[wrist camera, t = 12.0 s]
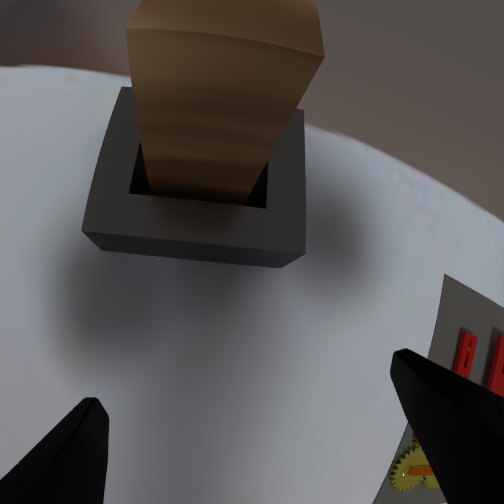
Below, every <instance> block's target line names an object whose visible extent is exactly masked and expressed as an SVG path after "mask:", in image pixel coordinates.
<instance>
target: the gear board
mask: <svg viewBox="0 0 504 504" xmlns="http://www.w3.org/2000/svg"><path fill="white" fill-rule="evenodd" d="M428 359H429V360H431V361H433V362H435V363H437V364H439V365H441V366H443V367H445V368H447V369H449V370H451V371H453V372H455V373H457V374H458V375H460V376H462V377H464V378H466V379H468V380H470V381H472V382H474V383H476V384H478V385H480V386H482V387H484V388H486V389H488V390H490V391H492V392H494V393H495V394H499V395H501V396H503V397H504V308H503V307H501V306H500V305H498V304H496V303H495V302H493V301H491V300H490V299H488V298H486V297H485V296H483V295H481V294H479V293H478V292H476V291H474V290H472V289H471V288H469V287H467V286H465V285H464V284H462V283H460V282H458V281H457V280H455V279H453V278H451V277H449V276H448V275H446V274H444V281H443V287H442V293H441V299H440V305H439V310H438V315H437V320H436V325H435V330H434V334H433V339H432V343H431V347H430V351H429V355H428ZM441 503H447V502H446V499H445V497H444V495H443V493H442V491H441V488H440V486H439V484H438V482H437V480H436V478H435V475H434V473H433V471H432V469H431V467H430V465H429V463H428V461H427V459H426V457H425V455H424V452H423V450H422V448H421V446H420V444H419V442H418V440H417V438H416V436H415V434H414V432H413V430H412V428H411V426H410V424H409V422H408V424H407V426H406V429H405V432H404V434H403V437H402V439H401V442H400V445H399V447H398V450H397V452H396V454H395V457H394V459H393V461H392V464H391V466H390V468H389V471H388V473H387V475H386V477H385V479H384V481H383V484H382V486H381V488H380V490H379V492H378V494H377V496H376V498H375V500H374V502H373V504H441Z"/></svg>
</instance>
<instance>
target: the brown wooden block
mask: <svg viewBox="0 0 504 504" xmlns="http://www.w3.org/2000/svg"><path fill="white" fill-rule="evenodd" d="M126 39H127V49H128V58H129V66H130V74H131V82H132V90H133V97H134V104H135V110H136V117H137V123H138V129H139V135H140V140H141V146H142V152H143V157H144V162H145V168H146V173H147V178H148V183H149V187H150V192H151V196H159V197H169V198H178V199H188V200H197V201H206V202H215V203H223V204H232V205H240V206H244V204H245V202H246V200H247V198H248V196H249V194H250V193H251V191H252V189H253V187H254V185H255V183H256V181H257V179H258V177H259V176H260V174H261V172H262V170H263V168H264V166H265V164H266V162H267V161H268V159H269V157H270V155H271V153H272V151H273V149H274V148H275V146H276V144H277V142H278V140H279V138H280V137H281V135H282V133H283V131H284V129H285V127H286V126H287V124H288V122H289V120H290V118H291V116H292V115H293V113H294V111H295V109H296V107H297V106H298V104H299V102H300V100H301V98H302V96H303V95H304V93H305V91H306V89H307V88H308V86H309V84H310V82H311V81H312V79H313V77H314V75H315V74H316V72H317V70H318V68H319V66H320V65H321V63H322V61H323V59H324V58H325V56H324V49H323V42H322V35H321V29H320V21H319V15H318V9H317V3H316V2H314V1H310V0H142V1H141V3H140V5H139V6H138V8H137V10H136V11H135V13H134V15H133V16H132V18H131V20H130V22H129V23H128V25H127V27H126Z"/></svg>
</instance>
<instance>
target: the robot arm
mask: <svg viewBox="0 0 504 504" xmlns="http://www.w3.org/2000/svg"><path fill="white" fill-rule="evenodd" d="M390 376H391V379H392V382H393V384H394V387H395V390H396V392H397V395H398V397H399V400H400V403H401V406H402V408H403V411H404V413H405V416H406V418H407V420H408V422H409V424H410V426H411V428H412V430H413V432H414V434H415V436H416V438H417V440H418V442H419V444H420V446H421V448H422V450H423V452H424V455H425V457H426V459H427V461H428V463H429V465H430V467H431V469H432V471H433V473H434V475H435V478H436V480H437V482H438V484H439V486H440V488H441V491H442V493H443V495H444V497H445V499H446V502H447V504H504V397H503V396H501V395H499V394H495V393H494V392H492V391H490V390H488V389H486V388H484V387H482V386H480V385H478V384H476V383H474V382H472V381H470V380H468V379H466V378H464V377H462V376H460V375H458V374H457V373H455V372H453V371H451V370H449V369H447V368H445V367H443V366H441V365H439V364H437V363H435V362H433V361H431V360H429V359H427V358H425V357H423V356H421V355H419V354H417V353H415V352H413V351H411V350H409V349H407V348H404V349H401V350H398V351H395V352H394V354H393V357H392V363H391V369H390ZM108 440H109V416H108V414H107V412H106V411H105V409H104V407H103V406H102V404H101V403H100V401H99V400H98V399H97V398H95V397H86V398H84V399H83V400H82V401H81V402H80V403H79V404H78V405H77V406H75V407H74V408H73V409H72V410H71V411H70V412H69V413H68V414H67V415H66V416H65V417H64V418H63V419H62V420H61V421H60V422H59V423H58V424H57V425H56V426H55V427H54V428H53V429H52V430H51V431H50V432H49V433H48V434H47V435H46V436H45V437H44V438H43V439H42V440H41V441H40V442H39V443H38V444H37V445H36V446H35V447H34V448H33V449H32V450H31V451H30V452H29V453H28V454H27V455H26V456H25V457H24V458H23V459H22V460H21V461H19V463H18V464H16V465H15V466H14V467H13V468H12V469H11V470H10V471H9V472H8V473H7V474H6V475H5V476H4V477H3V478H2V479H1V480H0V504H103V501H104V491H105V482H106V473H107V465H108Z"/></svg>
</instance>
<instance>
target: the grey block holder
mask: <svg viewBox="0 0 504 504" xmlns="http://www.w3.org/2000/svg"><path fill="white" fill-rule="evenodd" d="M146 177H147V173H146V168H145V162H144V157H143V152H142V146H141V140H140V135H139V129H138V123H137V117H136V110H135V104H134V97H133V90H132V87H121V90H120V93H119V95H118V98H117V101H116V104H115V106H114V109H113V112H112V115H111V118H110V121H109V124H108V127H107V130H106V134H105V137H104V140H103V143H102V147H101V150H100V154H99V157H98V161H97V164H96V168H95V172H94V176H93V180H92V184H91V188H90V192H89V196H88V201H87V205H86V210H85V215H84V220H83V225H82V230H81V231H82V232H83V233H84V234H85V235H86V236H87V237H88V238H89V239H90V240H91V241H92V242H93V243H94V244H95V245H96V246H97V247H98V248H99V249H101V250H104V251H113V252H122V253H132V254H141V255H151V256H160V257H170V258H180V259H189V260H199V261H210V262H220V263H230V264H240V265H251V266H261V267H272V268H282V267H284V266H286V265H287V264H289V263H291V262H292V261H294V260H296V259H297V258H299V257H301V256H303V255H304V254H305V235H306V189H305V137H304V110H301V109H297V108H296V109H295V111H294V113H293V115H292V116H291V118H290V120H289V122H288V124H287V126H286V127H285V129H284V131H283V133H282V135H281V137H280V138H279V140H278V142H277V144H276V146H275V148H274V149H273V151H272V153H271V155H270V157H269V159H268V161H267V162H266V164H265V166H264V168H263V170H262V172H261V174H260V176H259V177H258V179H257V181H256V183H255V185H254V187H253V189H252V199H251V207H248V206H240V205H232V204H223V203H215V202H206V201H197V200H188V199H178V198H169V197H159V196H148V195H143V192H144V187H145V182H146Z"/></svg>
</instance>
